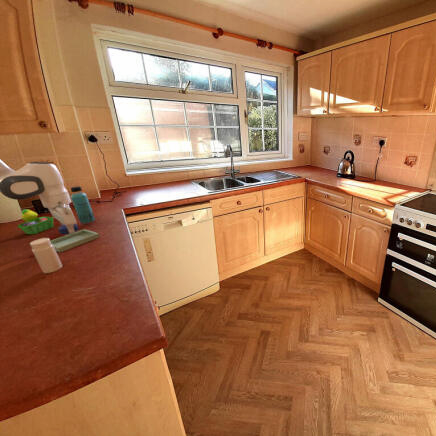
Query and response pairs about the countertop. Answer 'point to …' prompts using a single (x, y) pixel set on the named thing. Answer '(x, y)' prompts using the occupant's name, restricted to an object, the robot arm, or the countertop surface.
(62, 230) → the jar lid
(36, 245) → the jam jar
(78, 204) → the beverage bottle
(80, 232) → the serving tray
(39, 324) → the countertop surface
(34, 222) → the fruit basket
